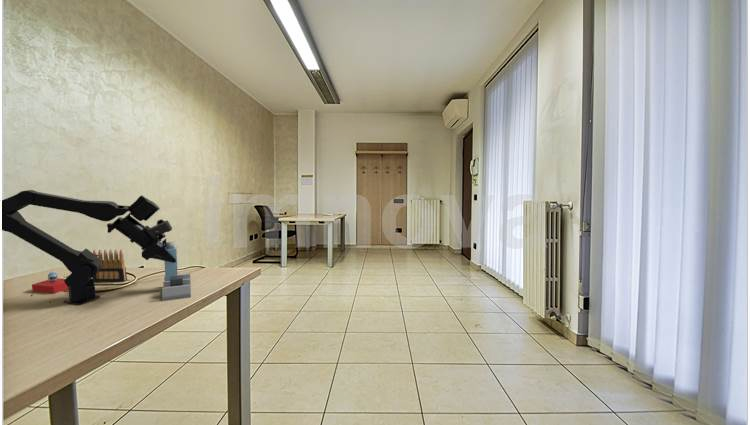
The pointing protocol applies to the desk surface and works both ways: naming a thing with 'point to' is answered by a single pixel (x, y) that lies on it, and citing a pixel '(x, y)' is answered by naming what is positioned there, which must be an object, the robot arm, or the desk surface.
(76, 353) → the desk surface
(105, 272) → the ammunition clip
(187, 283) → the organizer
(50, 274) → the red block with knob
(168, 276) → the blue plug
